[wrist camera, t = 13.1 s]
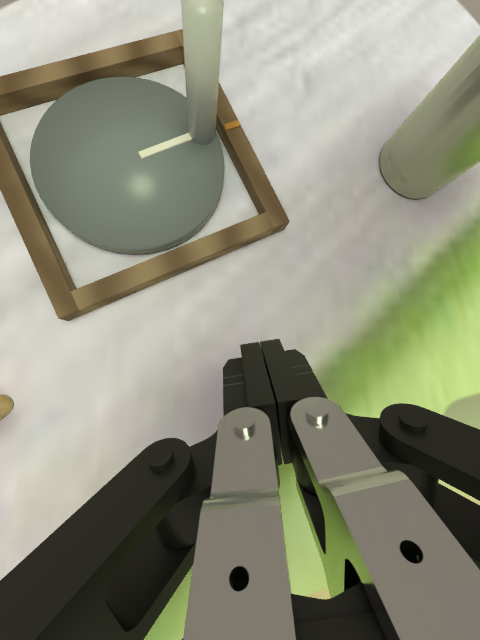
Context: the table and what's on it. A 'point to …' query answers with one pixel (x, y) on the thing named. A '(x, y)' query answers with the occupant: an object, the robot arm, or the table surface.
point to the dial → (137, 150)
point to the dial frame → (70, 302)
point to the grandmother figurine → (5, 405)
